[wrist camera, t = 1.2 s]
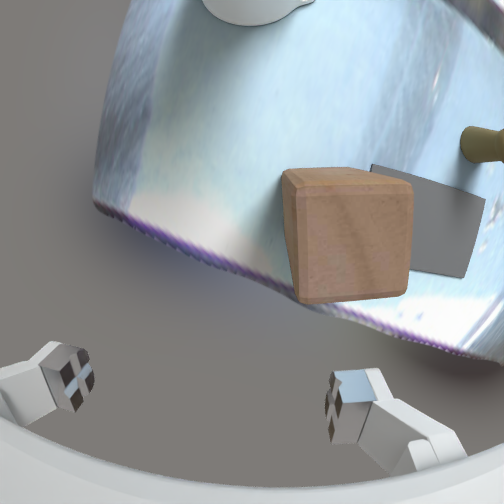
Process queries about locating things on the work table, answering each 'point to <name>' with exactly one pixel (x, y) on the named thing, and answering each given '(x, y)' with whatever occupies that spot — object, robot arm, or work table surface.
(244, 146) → the work table surface
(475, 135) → the cork
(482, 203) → the mat
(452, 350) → the work table surface
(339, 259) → the wooden block
